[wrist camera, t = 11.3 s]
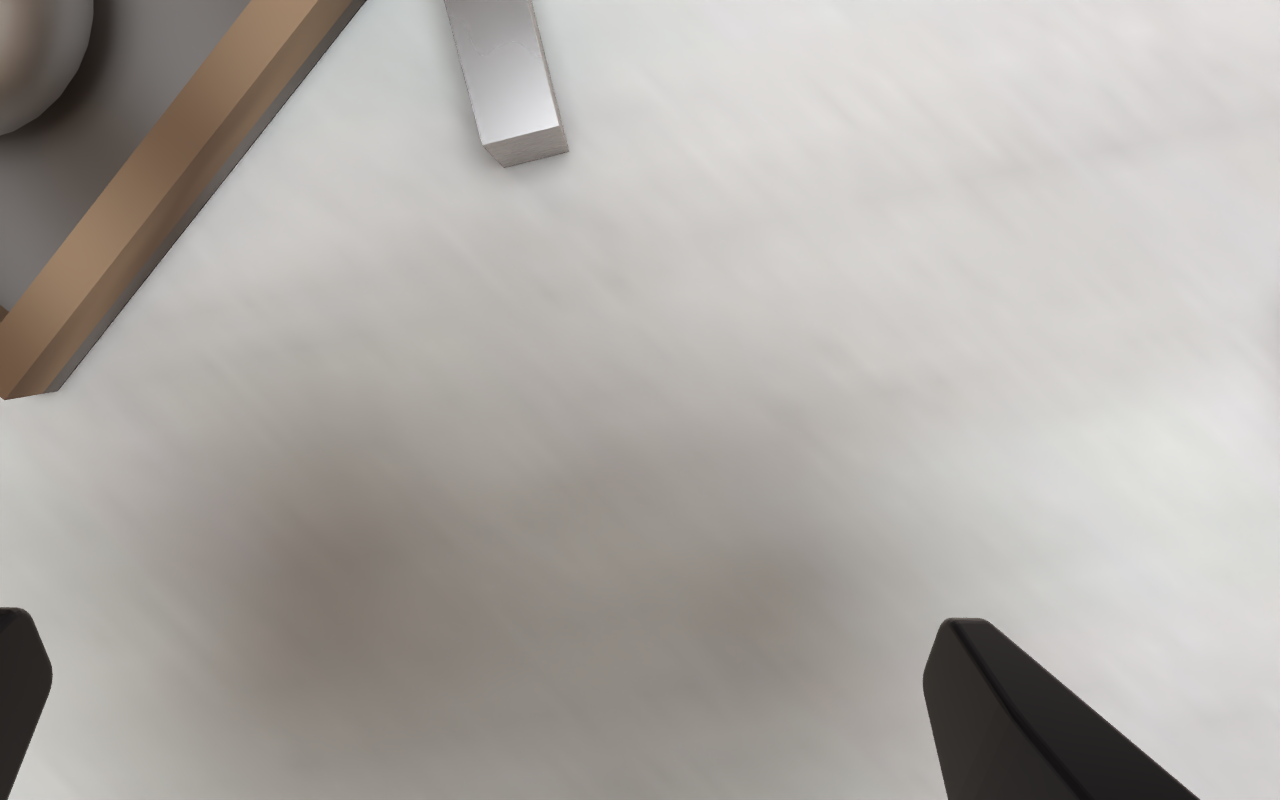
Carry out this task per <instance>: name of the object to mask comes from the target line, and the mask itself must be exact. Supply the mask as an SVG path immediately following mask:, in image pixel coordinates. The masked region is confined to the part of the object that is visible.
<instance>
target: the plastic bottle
mask: <svg viewBox="0 0 1280 800" xmlns="http://www.w3.org/2000/svg"><path fill="white" fill-rule="evenodd" d="M92 22H93V0H0V136H1V135H4V134H7V133H10V132H13V131H15V130H17V129H19V128H20V127H22V126H24V125H25V124H27V123H29V122H30V121H32V120H34V119H36V118H37V117H39V116H40V115H41V114H42V113H43V112H44V111H45V110H46V109H47V108H48V107H49V106H51V105H52V104H53V103H54V102H55V101H56V100H57V99H58V98H59V97H60V96H61V94H62V93H63V91H64V90H65V88H66V87H67V86H68V84H69V83H70V81H71V80H72V78H73V77H74V75H75V74H76V72H77V71H78V69H79V67H80V64H81V62H82V59H83V57H84V54H85V52H86V49H87V47H88V44H89V38H90V33H91V28H92Z"/></svg>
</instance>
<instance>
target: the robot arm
mask: <svg viewBox="0 0 1280 800" xmlns="http://www.w3.org/2000/svg"><path fill="white" fill-rule="evenodd" d="M52 675H53V674H52V666H51V662H50V660H49V657H48V655H47V653H46V650H45V648H44V645H43V643H42V640H41V638H40V636H39V633H38V631H37V628H36V626H35V624H34V621H33V619H32V617H31V615H30V614H29V613H28V612H27V611H25V610H24V609H21V608H9V607H0V800H8V797H9V795H10V792H11V789H12V787H13V784H14V782H15V779H16V777H17V774H18V772H19V769H20V767H21V764H22V761H23V759H24V756H25V754H26V751H27V749H28V746H29V744H30V741H31V738H32V736H33V733H34V731H35V728H36V726H37V723H38V721H39V718H40V715H41V713H42V710H43V708H44V705H45V703H46V700H47V698H48V695H49V692H50V689H51V684H52ZM923 691H924V697H925V701H926V705H927V710H928V714H929V718H930V723H931V727H932V732H933V736H934V740H935V745H936V749H937V753H938V758H939V762H940V766H941V771H942V775H943V780H944V784H945V788H946V793H947V797H948V800H1200V799H1199V798H1198V797H1197V796H1195V795H1194V794H1193V793H1192V792H1191V791H1189V790H1188V789H1187V788H1186V787H1185V786H1183V785H1182V784H1181V783H1180V782H1179V781H1178V780H1176V779H1175V778H1174V777H1173V776H1172V775H1170V774H1169V773H1168V772H1167V771H1166V770H1164V769H1163V768H1162V767H1161V766H1160V765H1159V764H1157V763H1156V762H1155V761H1154V760H1153V759H1151V758H1150V757H1149V756H1148V755H1147V754H1145V753H1144V752H1143V751H1142V750H1141V749H1140V748H1138V747H1137V746H1136V745H1135V744H1134V743H1132V742H1131V741H1130V740H1129V739H1128V738H1127V737H1125V736H1124V735H1123V734H1122V733H1121V732H1119V731H1118V730H1117V729H1116V728H1115V727H1113V726H1112V725H1111V724H1110V723H1109V722H1108V721H1106V720H1105V719H1104V718H1103V717H1102V716H1100V715H1099V714H1098V713H1097V712H1096V711H1094V710H1093V709H1092V708H1091V707H1090V706H1089V705H1087V704H1086V703H1085V702H1084V701H1083V700H1081V699H1080V698H1079V697H1078V696H1077V695H1075V694H1074V693H1073V692H1072V691H1071V690H1070V689H1068V688H1067V687H1066V686H1065V685H1064V684H1062V683H1061V682H1060V681H1059V680H1058V679H1057V678H1055V677H1054V676H1053V675H1052V674H1051V673H1049V672H1048V671H1047V670H1046V669H1045V668H1043V667H1042V666H1041V665H1040V664H1039V663H1038V662H1036V661H1035V660H1034V659H1033V658H1032V657H1030V656H1029V655H1028V654H1027V653H1026V652H1024V651H1023V650H1022V649H1021V648H1020V647H1019V646H1017V645H1016V644H1015V643H1014V642H1013V641H1011V640H1010V639H1009V638H1008V637H1007V636H1005V635H1004V634H1003V633H1002V632H1001V631H1000V630H998V629H997V628H996V627H995V626H994V625H992V624H991V623H990V622H988V621H986V620H984V619H981V618H948V619H946V620H944V621H943V622H942V623H941V625H940V627H939V630H938V633H937V635H936V638H935V641H934V644H933V647H932V649H931V652H930V655H929V658H928V661H927V663H926V666H925V670H924V674H923Z"/></svg>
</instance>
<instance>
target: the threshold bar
mask: <svg viewBox="0 0 1280 800" xmlns="http://www.w3.org/2000/svg"><path fill="white" fill-rule="evenodd" d="M444 1H445V5H446V9H447V13H448V16H449V20H450V24H451V28H452V32H453V36H454V39H455V43H456V47H457V51H458V55H459V58H460V62H461V66H462V70H463V74H464V78H465V81H466V85H467V89H468V93H469V97H470V100H471V104H472V108H473V112H474V116H475V120H476V123H477V127H478V131H479V135H480V139H481V142H482V145H483V146H484V147H485V149H486V150H487V151H488V152H489V153H490V154H491V155H492V156H493V157H494V158H495V159H496V160H497V161H498V162H499V163H500V164H501V165H502V166H503V167H504V168H505V167H509V166H513V165H517V164H521V163H525V162H529V161H533V160H537V159H541V158H545V157H549V156H553V155H557V154H561V153H565V152H569V149H568V145H567V141H566V137H565V133H564V129H563V125H562V121H561V117H560V113H559V109H558V105H557V101H556V97H555V93H554V89H553V85H552V81H551V77H550V73H549V69H548V65H547V61H546V57H545V53H544V49H543V45H542V41H541V37H540V33H539V29H538V25H537V21H536V17H535V13H534V9H533V5H532V1H531V0H444Z"/></svg>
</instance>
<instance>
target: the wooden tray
mask: <svg viewBox="0 0 1280 800" xmlns="http://www.w3.org/2000/svg"><path fill="white" fill-rule="evenodd" d="M365 1H366V0H93V22H92V28H91V33H90V38H89V44H88V47H87V49H86V52H85V54H84V57H83V59H82V62H81V64H80V67H79V69H78V71H77V72H76V74H75V75H74V77H73V78H72V80H71V81H70V83H69V84H68V86H67V87H66V88H65V90H64V91H63V93H62V94H61V96H60V97H59V98H58V99H57V100H56V101H55V102H54V103H53V104H52V105H51V106H49V107H48V108H47V109H46V110H45V111H44V112H43V113H42V114H41V115H40V116H39V117H37V118H36V119H34V120H32V121H30V122H29V123H27V124H25V125H24V126H22V127H20V128H19V129H17V130H15V131H13V132H10V133H7V134H4V135H1V136H0V397H1V398H2V399H4V400H8V399H14V398H20V397H26V396H32V395H37V394H43V393H49V392H55V391H58V389H59V388H60V387H61V385H62V384H63V383H64V382H65V380H66V379H67V378H68V377H69V375H70V374H71V373H72V372H73V370H74V369H75V368H76V366H77V365H78V364H79V363H80V361H81V360H82V359H83V358H84V356H85V355H86V354H87V353H88V351H89V350H90V349H91V347H92V346H93V345H94V344H95V342H96V341H97V340H98V339H99V337H100V336H101V335H102V334H103V332H104V331H105V330H106V328H107V327H108V326H109V325H110V323H111V322H112V321H113V320H114V318H115V317H116V316H117V315H118V313H119V312H120V311H121V310H122V308H123V307H124V306H125V304H126V303H127V302H128V301H129V299H130V298H131V297H132V296H133V294H134V293H135V292H136V291H137V289H138V288H139V287H140V285H141V284H142V283H143V282H144V280H145V279H146V278H147V277H148V275H149V274H150V273H151V272H152V270H153V269H154V268H155V266H156V265H157V264H158V263H159V261H160V260H161V259H162V258H163V256H164V255H165V254H166V253H167V251H168V250H169V249H170V247H171V246H172V245H173V244H174V242H175V241H176V240H177V239H178V237H179V236H180V235H181V234H182V232H183V231H184V230H185V228H186V227H187V226H188V225H189V223H190V222H191V221H192V220H193V218H194V217H195V216H196V215H197V213H198V212H199V211H200V209H201V208H202V207H203V206H204V204H205V203H206V202H207V201H208V199H209V198H210V197H211V196H212V194H213V193H214V192H215V191H216V189H217V188H218V187H219V185H220V184H221V183H222V182H223V180H224V179H225V178H226V177H227V175H228V174H229V173H230V172H231V170H232V169H233V168H234V166H235V165H236V164H237V163H238V161H239V160H240V159H241V158H242V156H243V155H244V154H245V153H246V151H247V150H248V149H249V147H250V146H251V145H252V144H253V142H254V141H255V140H256V139H257V137H258V136H259V135H260V134H261V132H262V131H263V130H264V128H265V127H266V126H267V125H268V123H269V122H270V121H271V120H272V118H273V117H274V116H275V115H276V113H277V112H278V111H279V109H280V108H281V107H282V106H283V104H284V103H285V102H286V101H287V99H288V98H289V97H290V96H291V94H292V93H293V92H294V90H295V89H296V88H297V87H298V85H299V84H300V83H301V82H302V80H303V79H304V78H305V77H306V75H307V74H308V73H309V72H310V70H311V69H312V68H313V66H314V65H315V64H316V63H317V61H318V60H319V59H320V58H321V56H322V55H323V54H324V53H325V51H326V50H327V49H328V47H329V46H330V45H331V44H332V42H333V41H334V40H335V39H336V37H337V36H338V35H339V34H340V32H341V31H342V30H343V28H344V27H345V26H346V25H347V23H348V22H349V21H350V20H351V18H352V17H353V16H354V15H355V13H356V12H357V11H358V9H359V8H360V7H361V6H362V4H363V3H364V2H365Z"/></svg>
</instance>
